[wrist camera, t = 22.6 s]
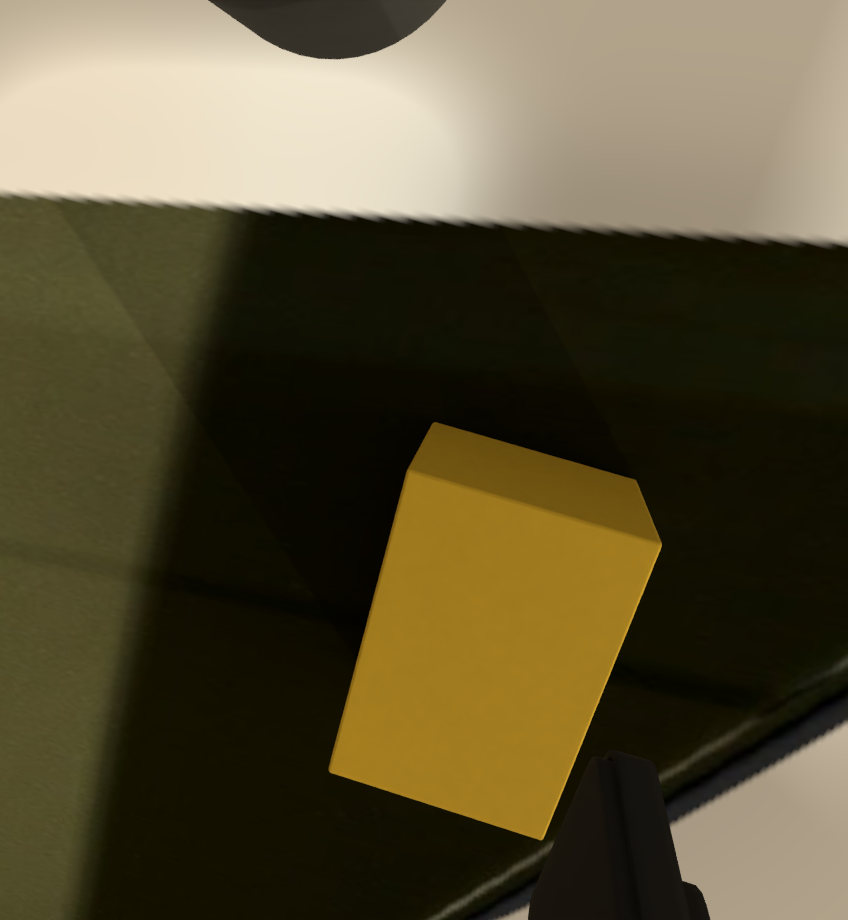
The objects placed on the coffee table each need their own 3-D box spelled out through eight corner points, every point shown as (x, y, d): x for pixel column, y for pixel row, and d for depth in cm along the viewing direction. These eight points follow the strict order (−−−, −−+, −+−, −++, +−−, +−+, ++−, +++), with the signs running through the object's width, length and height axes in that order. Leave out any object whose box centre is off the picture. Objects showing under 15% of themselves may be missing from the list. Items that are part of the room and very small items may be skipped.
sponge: (433, 420, 21) (406, 469, 17) (637, 479, 20) (663, 544, 16) (364, 675, 24) (326, 773, 19) (541, 731, 23) (542, 842, 19)
